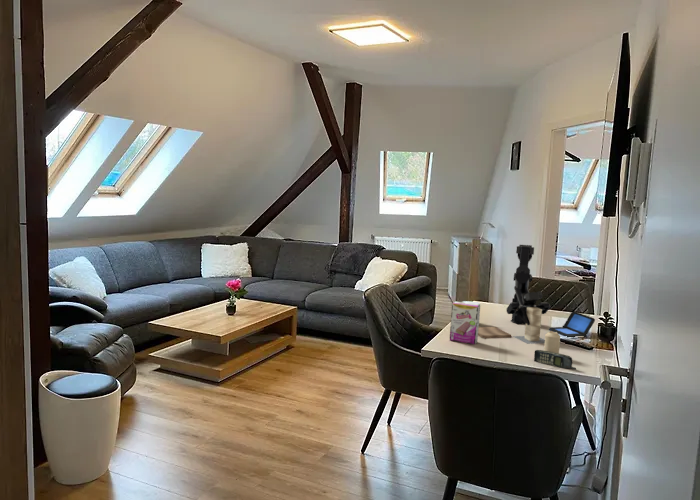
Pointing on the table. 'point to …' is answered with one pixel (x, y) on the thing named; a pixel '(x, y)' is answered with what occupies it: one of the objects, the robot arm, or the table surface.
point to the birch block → (533, 324)
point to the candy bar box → (464, 322)
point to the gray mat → (529, 341)
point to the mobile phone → (553, 359)
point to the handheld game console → (575, 325)
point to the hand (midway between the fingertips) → (534, 324)
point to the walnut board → (492, 332)
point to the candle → (552, 342)
